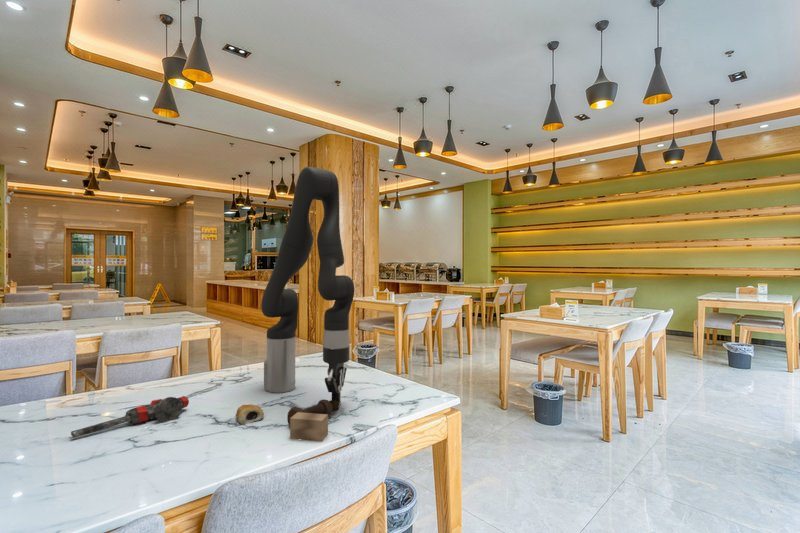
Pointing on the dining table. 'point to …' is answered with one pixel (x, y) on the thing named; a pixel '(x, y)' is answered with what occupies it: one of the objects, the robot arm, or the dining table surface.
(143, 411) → the dark long red-banded part
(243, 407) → the pastry
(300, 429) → the brown wooden block
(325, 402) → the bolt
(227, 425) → the dining table surface
